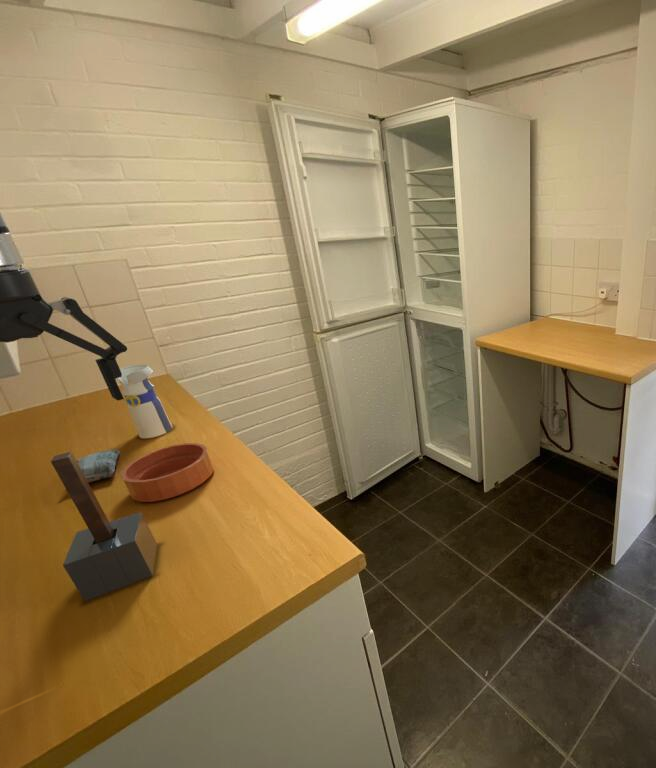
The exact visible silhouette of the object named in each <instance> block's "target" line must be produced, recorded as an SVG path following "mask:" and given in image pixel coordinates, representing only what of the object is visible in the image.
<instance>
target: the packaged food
mask: <svg viewBox="0 0 656 768" xmlns="http://www.w3.org/2000/svg"><path fill="white" fill-rule="evenodd" d="M120 457H121V450H119V449H109V450H101V451H96V452H94V453H91V454H90V453H89V454H88V455H86V456H83V457H81V458H79V459H76V461H77V463H78V465H79V467H80V468H81V470H82V472H83V474H84V476H85V478H86V480H87V481H88V483H92V482H97V481H101V480H105V479H109V478H112V477H115V475H116V472H117V467H118V463H119V462H120Z"/></svg>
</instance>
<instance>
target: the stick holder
mask: <svg viewBox="0 0 656 768" xmlns="http://www.w3.org/2000/svg"><path fill="white" fill-rule="evenodd" d="M109 523H110V525H111V526H112V528H113V530H114V532H115V534H116V535H115V538H113V539H110V540H107V541H104V542H101V543H98V544H97V543H96V541H95V539H94V538H93V536H92V534H91V532H90V530H89V529H88V528H85V529H82V530H78V531H76V532H75V534H74V537H73V539H72V542H71V543H70V544H71V545H70V546H69V549H68V552H67V553H66V556H65V559H64V561H63V563H62V567H63V569H64V570H65V572H66V573H67V575H68V576H69V578H70V579H71V581H72V583H73V584H74V586H75V588H76V589H77V591H78V592H79V594H80V596H81V597H82V599H83V600H84V602H87V601H90V600H93V599H96V598H98V597H100V596H104V595H105V594H108V593H111V592H113V591H117V590H119V589H123V588H125V587H127V586H130V585H132V584H135V583H138V582H141V581H142V580H146V579H148V578H151V577H153V575H154V569H155V563H156V557H157V551H158V543H157V541H156V539H155V537H154V535H153V533H152V531H151V528H150V527H149V524H148V523H147V520H146V519H145V516H144V514H143V512H142V511H140V512H137V513H132V514H130V515H127V516H124V517H120V518H117V519H114V520H111V521H109Z"/></svg>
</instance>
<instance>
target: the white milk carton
mask: <svg viewBox="0 0 656 768" xmlns="http://www.w3.org/2000/svg"><path fill="white" fill-rule="evenodd" d="M120 371H121V373H122V376H121V377H119V378H116V379H115V380H116V381H118V382H119V384H120V385H121V388H122V390H121V394H122V396H123V397H124V402H125V404H126V405H127V410H128V412H129V415H130V417H131V419H132V422H133V424H134V426H135V430H136V432H137V435H138V438H140V439H151V438H157V437H160V436H163V435H165V434H167V433H169V432H170V431H172V429H173V425H172V423H171V421H170V419H169V417H168V414H167V412H166V410H165V408H164V405H163V404H162V401H161V400H160V398H159V397H158V396H157V394H156V392H155V389H154V388H155V384H152V383H151V382H150V380H149V377H150V376H151V375H152V374H153V373H154V370H153V369H152V368H151V367H150V366H149V365H147V364H133V365H132V364H131V365H128V366H123V367H121V368H120Z"/></svg>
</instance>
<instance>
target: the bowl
mask: <svg viewBox="0 0 656 768" xmlns="http://www.w3.org/2000/svg"><path fill="white" fill-rule="evenodd" d="M214 469H215V466H214V462H213V460H212V457H211V455H210V453H209V450H208V448H207V447H206V446H205V445H204V444H202V443H198V442H184V443H177V444H172V445H168V446H165V447H161V448H158V449H156V450H153V451H150V452H148V453H146V454H144V455H142V456H139V457H138V458H136V459H135V460H132V461H131V462H130V463H128V464H127V465H126V466H125V467H124V468H123V469H122V471H121V474H120V478H121V480H122V482H123V484H124V487H125V489H126V490H127V492H128V494H129V497H130V498H131V499H132V500H133V501H137V502H139V503H153V502H158V501H164V500H168V499H171V498H174V497H177V496H180V495H183V494H185V493H187V492H189V491H192V490H193V489H195V488H197V487H199V486H200V485H202V484H203V483H205V481H206V480H207V479H209V478H210V477H211V476H212V474H213V473H214Z"/></svg>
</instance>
